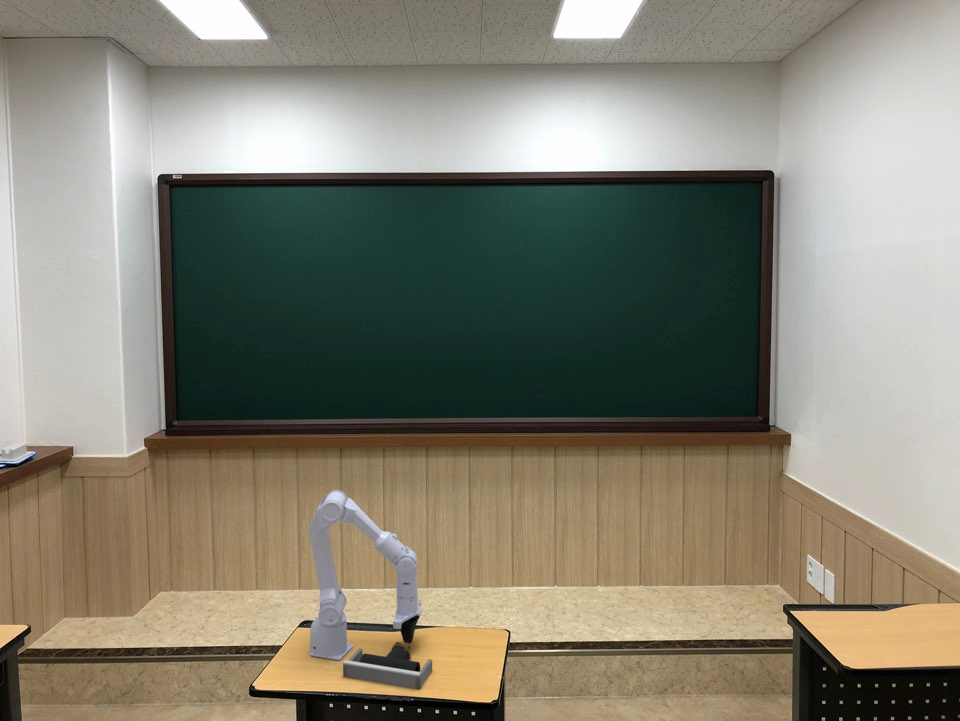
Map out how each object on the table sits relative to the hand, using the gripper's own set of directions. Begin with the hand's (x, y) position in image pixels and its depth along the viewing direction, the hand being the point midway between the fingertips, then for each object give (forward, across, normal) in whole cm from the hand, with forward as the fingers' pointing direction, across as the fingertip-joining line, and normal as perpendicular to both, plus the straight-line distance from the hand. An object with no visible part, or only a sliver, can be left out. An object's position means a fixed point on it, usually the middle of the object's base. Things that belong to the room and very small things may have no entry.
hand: (408, 641), depth 185 cm
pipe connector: (+2, -11, -1) cm, 11 cm away
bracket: (+2, -13, 0) cm, 13 cm away
